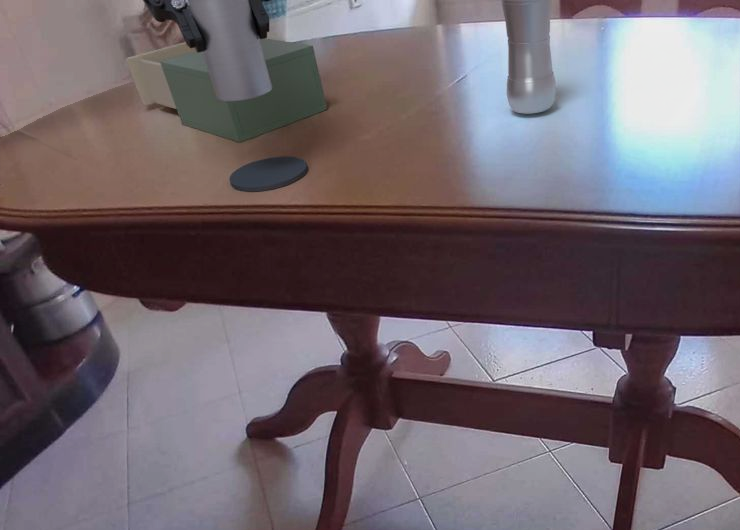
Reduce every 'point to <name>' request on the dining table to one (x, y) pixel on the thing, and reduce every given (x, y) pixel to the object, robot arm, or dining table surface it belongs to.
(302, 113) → the green box
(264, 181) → the coaster
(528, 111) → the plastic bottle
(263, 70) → the gray cup
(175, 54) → the drawer
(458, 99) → the dining table surface
